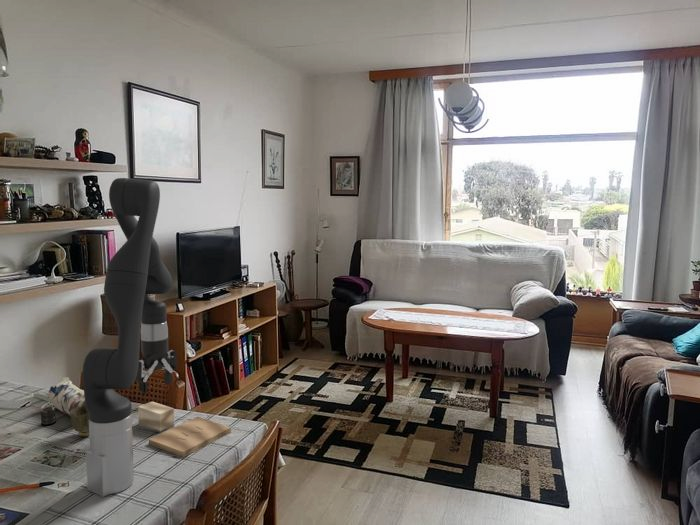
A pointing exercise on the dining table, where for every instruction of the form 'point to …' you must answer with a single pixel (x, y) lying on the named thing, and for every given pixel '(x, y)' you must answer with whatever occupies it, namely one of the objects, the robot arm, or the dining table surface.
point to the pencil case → (66, 396)
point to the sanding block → (156, 417)
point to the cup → (80, 420)
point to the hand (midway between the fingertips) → (156, 388)
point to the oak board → (189, 436)
